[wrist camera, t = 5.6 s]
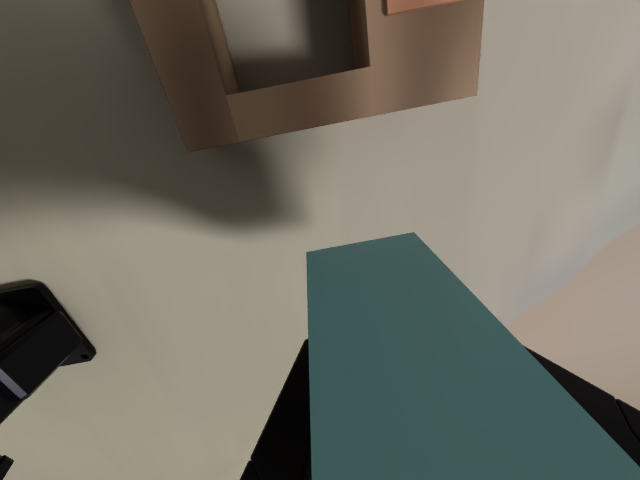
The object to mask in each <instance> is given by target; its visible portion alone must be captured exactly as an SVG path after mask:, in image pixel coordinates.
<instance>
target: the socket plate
mask: <svg viewBox="0 0 640 480" xmlns="http://www.w3.org/2000/svg"><path fill="white" fill-rule="evenodd" d="M130 3H131V6H132V8H133V11H134V13H135V16H136V19H137V21H138V24H139V26H140V29H141V32H142V34H143V37H144V39H145V42H146V45H147V47H148V50H149V52H150V55H151V58H152V60H153V63H154V65H155V68H156V71H157V73H158V76H159V79H160V81H161V84H162V86H163V89H164V92H165V94H166V97H167V99H168V102H169V105H170V107H171V110H172V112H173V115H174V118H175V120H176V123H177V125H178V128H179V131H180V133H181V136H182V138H183V141H184V144H185V146H186V149H187V152H192V151H197V150H202V149H207V148H212V147H217V146H222V145H228V144H233V143H238V142H243V141H248V140H253V139H258V138H263V137H268V136H273V135H278V134H283V133H288V132H293V131H299V130H304V129H309V128H314V127H319V126H324V125H329V124H334V123H339V122H344V121H349V120H354V119H359V118H365V117H370V116H375V115H380V114H385V113H390V112H395V111H400V110H405V109H410V108H415V107H420V106H425V105H430V104H436V103H441V102H446V101H451V100H456V99H461V98H466V97H471V96H476V95H477V89H478V76H479V62H480V49H481V36H482V23H483V10H484V0H348V6H349V16H350V26H351V36H352V46H353V56H354V66H355V70H351V71H346V72H341V73H336V74H331V75H326V76H321V77H316V78H311V79H306V80H301V81H296V82H291V83H286V84H281V85H276V86H271V87H266V88H261V89H256V90H251V91H246V92H241V93H240V89H239V86H238V82H237V78H236V75H235V71H234V67H233V64H232V60H231V56H230V53H229V49H228V45H227V42H226V38H225V34H224V31H223V27H222V23H221V20H220V16H219V12H218V8H217V5H216V1H215V0H130Z"/></svg>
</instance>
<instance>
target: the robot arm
mask: <svg viewBox="0 0 640 480" xmlns="http://www.w3.org/2000/svg"><path fill="white" fill-rule="evenodd" d="M524 347H525V346H524ZM525 348H526V349H527V350H528V351H529V353H530V354H531V355H532V356H533V357H534V358H535V359H536V360H537V361H538V362H539V363H540V364H541V365H542V366H543V367H544V368H545V369H546V370H547V371H548V372H549V373H550V374H551V375H552V376H553V377H554V379H555V380H556V381H557V382H558V383H559V384H560V385H561V386H562V387H563V388H564V389H565V390H566V391H567V392H568V393H569V394H570V395H571V396H572V397H573V398H574V399H575V400H576V401H577V402H578V403H579V405H580V406H581V407H582V408H583V409H584V410H585V411H586V412H587V413H588V414H589V415H590V416H591V417H592V418H593V419H594V420H595V421H596V422H597V423H598V424H599V425H600V426H601V427H602V428H603V429H604V431H605V432H606V433H607V434H608V435H609V436H610V437H611V438H612V439H613V440H614V441H615V442H616V443H617V444H618V445H619V446H620V447H621V448H622V449H623V450H624V451H625V452H626V453H627V454H628V456H629V457H630V458H631V459H632V460H633V461H634V462H635V463H636V464H637V465H638V466H639V467H640V411H639V410H637V409H636V408H634V407H632V406H630V405H629V404H627V403H625V402H623V401H621V400H620V399H615V398H614V396H612V395H610V394H609V393H607V392H605V391H603V390H602V389H600V388H598V387H596V386H594V385H593V384H591V383H589V382H587V381H585V380H584V379H582V378H580V377H578V376H576V375H575V374H573V373H571V372H569V371H568V370H566V369H564V368H562V367H561V366H559V365H557V364H555V363H553V362H552V361H550V360H548V359H546V358H544V357H543V356H541V355H539V354H537V353H536V352H534V351H532V350H530V349H528V348H527V347H525ZM95 355H96V351H95V349H94V348H93V347H92V345H91V344H90V343H89V342H88V340H87V339H86V338H85V337H84V335H83V334H82V333H81V331H80V330H79V329H78V328H77V326H76V325H75V324H74V322H73V321H72V320H71V319H70V317H69V316H68V315H67V314H66V312H65V311H64V310H63V308H62V307H61V306H60V305H59V303H58V302H57V301H56V300H55V298H54V297H53V296H52V294H51V293H50V292H49V291H48V289H47V288H46V287H45V286H43V285H40V284H31V285H26V286H20V287H15V288H10V289H4V290H0V424H1V423H2V422H3V421H4V420H5V419H6V418H7V417H8V416H9V415H10V414H11V413H12V412H13V411H14V410H15V409H16V408H17V407H18V406H19V405H20V404H21V403H22V402H23V401H24V400H25V399H27V398H28V397H30V396H31V395H32V394H33V393H34V392H35V391H36V390H37V388H38V387H39V386H40V385H41V384H42V383H43V382H44V381H45V380H46V379H47V378H48V377H49V376H50V375H51V374H52V373H53V372H54V371H55V370H56V369H57V368H58V367H60V366H65V365H71V364H76V363H82V362H87V361H91V360H92V359H93V357H94V356H95ZM13 462H14V460H13V459H11V458H9V457H8V456H6V455H4V456H1V455H0V480H3V478H4V477H5V475H6V473H7V472H8V470H9V469H10V467H11V465H12V464H13ZM240 480H312V467H311V425H310V383H309V341H308V339H306V340H305V341H304V343H303V345H302V347H301V349H300V351H299V354H298V356H297V358H296V360H295V362H294V364H293V366H292V369H291V371H290V373H289V375H288V377H287V379H286V382H285V384H284V386H283V388H282V390H281V392H280V394H279V397H278V399H277V401H276V403H275V405H274V407H273V410H272V412H271V414H270V416H269V418H268V420H267V423H266V425H265V427H264V429H263V431H262V433H261V435H260V438H259V440H258V442H257V444H256V446H255V448H254V451H253V453H252V455H251V460H250V461H248V463H247V465H246V467H245V470H244V472H243V474H242V476H241V478H240Z"/></svg>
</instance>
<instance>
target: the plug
mask: <svg viewBox="0 0 640 480" xmlns="http://www.w3.org/2000/svg"><path fill="white" fill-rule="evenodd" d="M306 257H307V299H308V341H309V383H310V425H311V467H312V480H640V467H639V466H638V465H637V464H636V463H635V462H634V461H633V460H632V459H631V458H630V457H629V456H628V454H627V453H626V452H625V451H624V450H623V449H622V448H621V447H620V446H619V445H618V444H617V443H616V442H615V441H614V440H613V439H612V438H611V437H610V436H609V435H608V434H607V433H606V432H605V431H604V429H603V428H602V427H601V426H600V425H599V424H598V423H597V422H596V421H595V420H594V419H593V418H592V417H591V416H590V415H589V414H588V413H587V412H586V411H585V410H584V409H583V408H582V407H581V406H580V405H579V403H578V402H577V401H576V400H575V399H574V398H573V397H572V396H571V395H570V394H569V393H568V392H567V391H566V390H565V389H564V388H563V387H562V386H561V385H560V384H559V383H558V382H557V381H556V380H555V379H554V377H553V376H552V375H551V374H550V373H549V372H548V371H547V370H546V369H545V368H544V367H543V366H542V365H541V364H540V363H539V362H538V361H537V360H536V359H535V358H534V357H533V356H532V355H531V354H530V353H529V351H528V350H527V349H526V348H525V347H524V346H523V345H522V344H521V343H520V342H519V341H518V340H517V339H516V338H515V337H514V336H513V335H512V334H511V333H510V332H509V331H508V330H507V329H506V328H505V327H504V325H503V324H502V323H501V322H500V321H499V320H498V319H497V318H496V317H495V316H494V315H493V314H492V313H491V312H490V311H489V310H488V309H487V308H486V307H485V306H484V305H483V304H482V303H481V302H480V301H479V299H478V298H477V297H476V296H475V295H474V294H473V293H472V292H471V291H470V290H469V289H468V288H467V287H466V286H465V285H464V284H463V283H462V282H461V281H460V280H459V279H458V278H457V277H456V276H455V274H454V273H453V272H452V271H451V270H450V269H449V268H448V267H447V266H446V265H445V264H444V263H443V262H442V261H441V260H440V259H439V258H438V257H437V256H436V255H435V254H434V253H433V252H432V251H431V250H430V248H429V247H428V246H427V245H426V244H425V243H424V242H423V241H422V240H421V239H420V238H419V237H418V236H417V235H416V234H415V233H414V232H413V233H407V234H402V235H397V236H391V237H386V238H380V239H375V240H370V241H364V242H359V243H353V244H348V245H343V246H337V247H332V248H326V249H321V250H316V251H310V252H306Z"/></svg>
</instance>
